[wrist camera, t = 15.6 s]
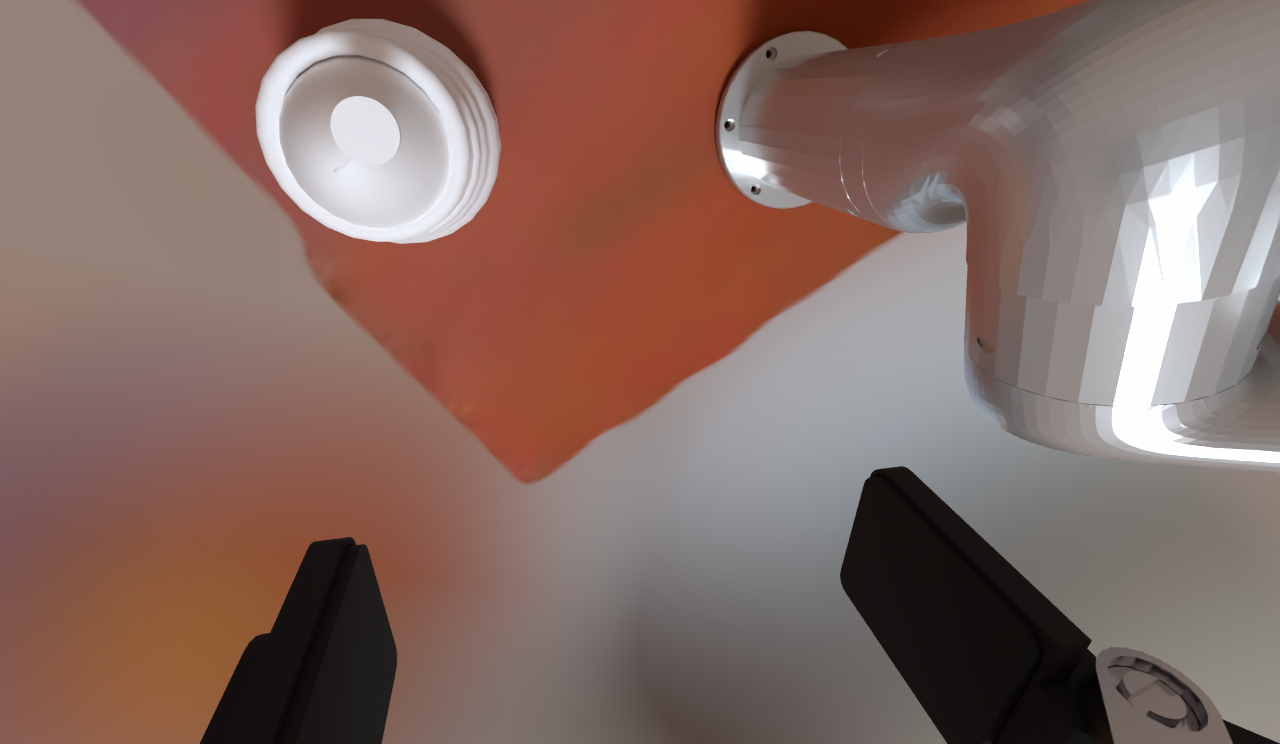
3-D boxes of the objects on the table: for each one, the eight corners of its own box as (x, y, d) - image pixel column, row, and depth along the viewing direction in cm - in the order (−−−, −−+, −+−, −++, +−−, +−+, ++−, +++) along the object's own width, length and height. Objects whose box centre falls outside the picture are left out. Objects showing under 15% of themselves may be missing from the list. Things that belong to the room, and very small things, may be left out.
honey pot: (394, -22, 34) (294, -123, 18) (537, 148, 40) (556, 183, 24) (258, 120, 35) (61, 140, 20) (415, 262, 42) (359, 363, 26)
